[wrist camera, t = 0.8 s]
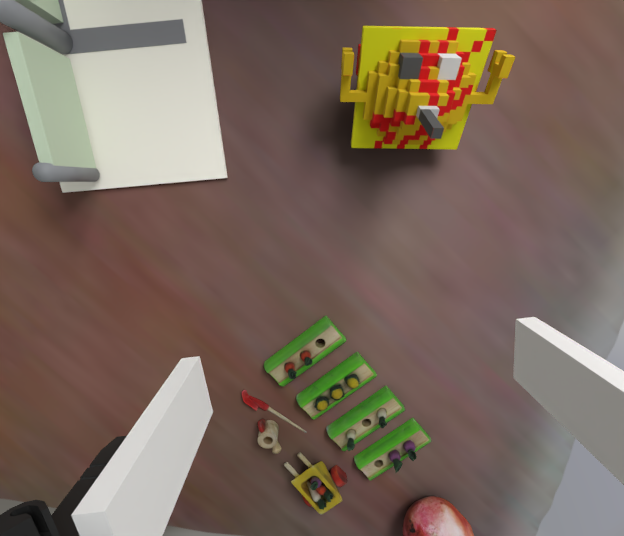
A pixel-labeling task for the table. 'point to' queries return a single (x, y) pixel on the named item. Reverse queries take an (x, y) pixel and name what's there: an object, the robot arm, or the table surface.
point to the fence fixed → (37, 22)
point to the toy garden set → (346, 429)
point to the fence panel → (52, 111)
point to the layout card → (144, 91)
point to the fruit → (435, 519)
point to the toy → (418, 84)
